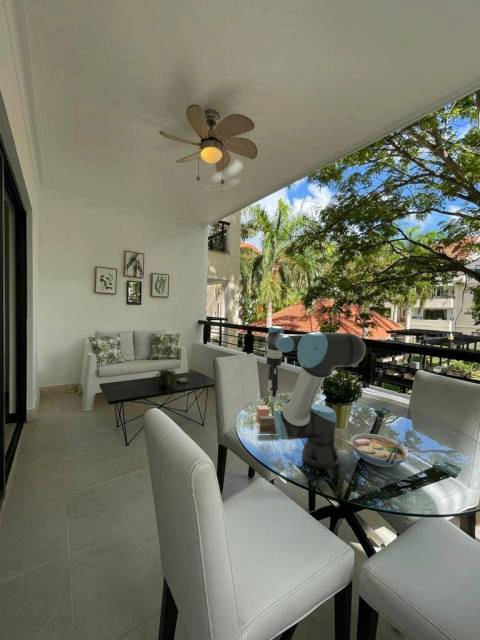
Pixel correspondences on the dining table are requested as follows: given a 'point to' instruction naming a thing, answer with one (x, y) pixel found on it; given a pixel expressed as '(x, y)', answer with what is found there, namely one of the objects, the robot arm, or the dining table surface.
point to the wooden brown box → (264, 423)
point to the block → (262, 411)
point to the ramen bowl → (379, 450)
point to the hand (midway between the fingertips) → (271, 396)
